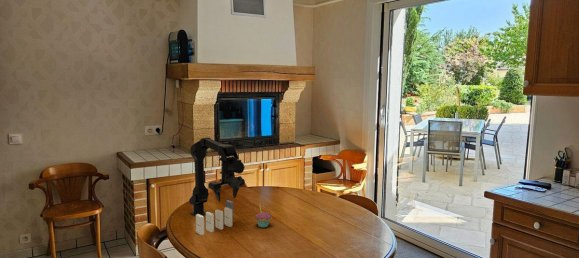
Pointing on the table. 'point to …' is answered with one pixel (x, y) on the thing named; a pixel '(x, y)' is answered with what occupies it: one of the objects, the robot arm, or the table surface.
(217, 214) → the domino
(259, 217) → the cupcake
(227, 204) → the grey domino block
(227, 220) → the domino
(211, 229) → the domino
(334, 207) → the table surface
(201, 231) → the domino
